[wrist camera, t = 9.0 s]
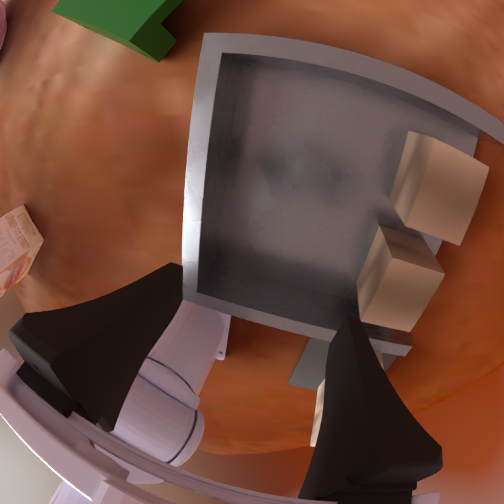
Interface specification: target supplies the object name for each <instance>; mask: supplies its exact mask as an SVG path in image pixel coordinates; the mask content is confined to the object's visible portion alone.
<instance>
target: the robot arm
mask: <svg viewBox="0 0 504 504" xmlns="http://www.w3.org/2000/svg"><path fill="white" fill-rule="evenodd" d="M230 321H231V315H228V314H225V313H222V312H219V311H216V310H212V309H209V308H206V307H203V306H200V305H197V304H194V303H191V302H188V301H185V300H183V266H181V265H178V264H175V263H172V262H171V263H169V264H167V265H165V266H163V267H161V268H159V269H157V270H156V271H154V272H152V273H150V274H148V275H146V276H144V277H143V278H141V279H139V280H137V281H135V282H133V283H131V284H129V285H127V286H125V287H123V288H120V289H118V290H116V291H114V292H112V293H110V294H107V295H105V296H102V297H99V298H97V299H94V300H91V301H88V302H84V303H81V304H77V305H74V306H70V307H66V308H61V309H56V310H50V311H43V312H33V313H26V314H25V315H24V316H23V317H22V318H21V319H20V320H19V321H18V322H17V323H16V324H15V325H14V326H13V327H12V328H11V329H10V330H9V337H10V339H11V341H12V343H13V344H14V346H15V347H16V349H17V350H18V352H19V354H20V355H21V357H22V358H23V360H24V361H25V362H24V363H23V364H22V365H21V364H20V363H19V362H18V361H17V360H16V359H15V358H14V357H13V356H12V355H11V354H10V353H9V352H8V351H7V350H6V349H5V348H3V349H2V350H1V352H0V415H1V416H2V418H3V419H4V420H5V421H6V422H7V424H8V425H9V426H10V427H11V428H12V430H13V431H14V432H15V433H16V434H17V435H18V436H19V438H20V439H21V440H22V441H23V442H24V443H25V444H26V445H27V446H28V447H29V448H30V449H31V450H32V451H33V452H34V453H35V454H36V455H37V456H38V457H39V458H40V459H41V460H42V461H43V462H44V463H45V464H46V465H47V466H48V467H49V468H51V469H52V470H53V471H54V472H55V473H56V474H58V476H60V477H61V478H62V479H63V481H62V482H61V484H60V485H59V487H58V489H57V490H56V492H55V494H54V495H53V497H52V499H51V500H50V502H49V504H175V503H172V502H170V501H168V500H165V499H163V498H160V497H158V496H156V495H153V494H151V493H149V492H147V491H145V490H143V489H141V488H138V487H136V486H134V485H132V484H151V483H162V482H163V481H167V482H169V483H171V484H174V485H177V486H179V487H182V488H184V489H187V490H190V491H193V492H195V493H198V494H201V495H205V496H208V497H211V498H214V499H218V500H221V501H225V502H229V503H232V504H439V492H438V491H436V492H431V493H425V494H419V495H415V496H412V490H415V489H416V488H417V481H420V480H422V479H425V478H427V477H429V476H431V475H433V474H435V473H437V472H438V471H440V470H441V468H442V467H443V459H442V447H441V446H440V445H439V444H438V443H437V442H436V441H435V440H434V439H433V438H432V437H431V436H430V435H429V434H428V433H427V432H426V431H425V430H424V429H423V427H422V426H421V425H420V424H419V423H418V422H417V421H416V419H415V418H414V417H413V416H412V414H411V413H410V412H409V410H408V409H407V407H406V406H405V405H404V403H403V402H402V400H401V399H400V397H399V396H398V394H397V393H396V391H395V389H394V388H393V386H392V385H391V383H390V381H389V379H388V378H387V376H386V374H385V372H384V370H383V368H382V366H381V364H380V362H379V360H378V358H377V356H376V354H375V351H374V349H373V347H372V345H371V343H370V340H369V338H368V336H367V334H366V331H365V329H364V327H363V324H362V322H361V320H360V318H358V317H354V316H351V315H347V314H346V316H345V318H344V320H343V322H342V324H341V325H340V327H339V329H338V331H337V332H336V334H335V336H334V338H333V339H332V341H331V343H330V345H329V349H328V355H327V361H326V369H325V386H324V402H323V412H322V419H321V424H320V429H319V433H318V437H317V441H316V445H315V449H314V453H313V456H312V460H311V463H310V466H309V469H308V472H307V475H306V477H305V480H304V483H303V485H302V488H301V490H300V493H299V495H298V499H296V498H288V497H282V496H276V495H270V494H265V493H260V492H255V491H251V490H247V489H242V488H238V487H235V486H231V485H227V484H223V483H220V482H217V481H213V480H210V479H207V478H204V477H201V476H198V475H196V474H193V473H190V472H187V471H185V470H182V469H180V468H177V467H178V466H180V465H181V464H183V463H184V462H185V461H187V460H188V459H189V458H190V457H191V455H192V454H193V453H194V452H195V450H196V448H197V447H198V445H199V443H200V441H201V438H202V436H203V432H204V417H203V413H202V412H201V411H200V410H199V409H197V407H198V405H199V402H200V400H201V399H200V398H199V397H198V395H199V393H200V391H201V389H202V387H203V385H204V382H205V380H206V378H207V376H208V373H209V371H210V369H211V367H212V365H213V362H214V360H215V358H216V359H219V360H224V358H225V354H226V347H227V341H228V334H229V327H230Z"/></svg>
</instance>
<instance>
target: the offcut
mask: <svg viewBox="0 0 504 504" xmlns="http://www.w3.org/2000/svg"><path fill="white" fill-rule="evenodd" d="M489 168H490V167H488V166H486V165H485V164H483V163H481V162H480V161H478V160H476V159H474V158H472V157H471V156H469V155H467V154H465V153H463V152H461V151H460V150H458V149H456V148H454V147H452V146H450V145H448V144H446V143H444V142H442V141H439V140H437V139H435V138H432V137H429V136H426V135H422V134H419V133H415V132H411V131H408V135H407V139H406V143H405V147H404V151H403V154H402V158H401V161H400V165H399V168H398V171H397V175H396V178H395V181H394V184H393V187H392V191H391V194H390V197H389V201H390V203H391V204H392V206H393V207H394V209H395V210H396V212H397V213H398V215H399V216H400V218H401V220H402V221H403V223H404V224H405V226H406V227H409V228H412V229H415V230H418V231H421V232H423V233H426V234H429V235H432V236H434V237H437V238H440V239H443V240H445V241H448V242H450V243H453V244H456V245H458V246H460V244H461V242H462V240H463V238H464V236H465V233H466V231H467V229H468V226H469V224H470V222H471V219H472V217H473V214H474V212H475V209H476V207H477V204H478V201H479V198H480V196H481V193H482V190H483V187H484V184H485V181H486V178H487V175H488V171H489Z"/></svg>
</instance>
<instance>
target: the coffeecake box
mask: <svg viewBox="0 0 504 504" xmlns="http://www.w3.org/2000/svg"><path fill="white" fill-rule="evenodd" d="M43 241H44V239H43V238H42V236H41V234H40V233H39V231H38V229H37V228H36V226H35V225H34V223H33V222H32V220H31V218H30V216H29V214H28V212H27V210H26V208H25V207H24V205H21V206H19V207H18V208H16V209H14V210H12V211H11V212H9V213H7V214H6V215H4V216H3V217H1V218H0V297H1V296H2V295H3V294H4V293H5V292H7V291H8V290H9V289H10V288H11V287H12V286H13V285H15V284H16V283H17V282H18V281H19V280H20V279H22V278H23V277H24V276H25V275H27V274H28V272H29V269H30V267H31V265H32V263H33V261H34V259H35V257H36V255H37V253H38V251H39V249H40V247H41V245H42V243H43Z"/></svg>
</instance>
